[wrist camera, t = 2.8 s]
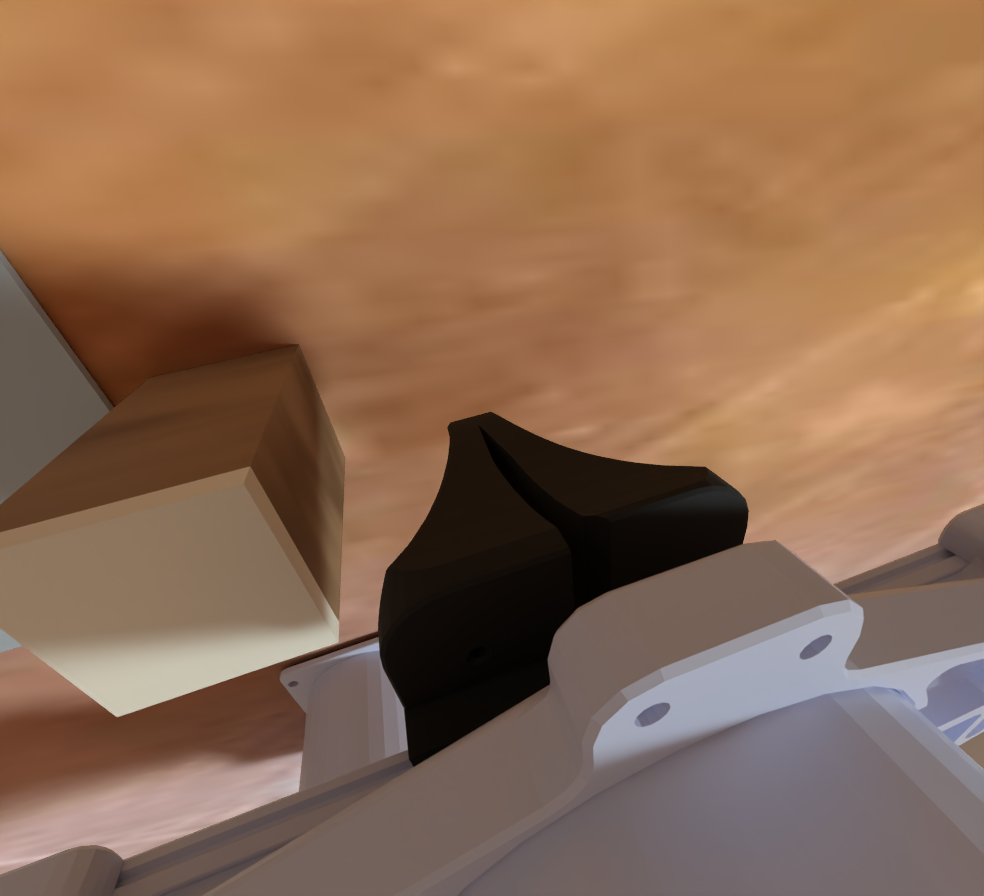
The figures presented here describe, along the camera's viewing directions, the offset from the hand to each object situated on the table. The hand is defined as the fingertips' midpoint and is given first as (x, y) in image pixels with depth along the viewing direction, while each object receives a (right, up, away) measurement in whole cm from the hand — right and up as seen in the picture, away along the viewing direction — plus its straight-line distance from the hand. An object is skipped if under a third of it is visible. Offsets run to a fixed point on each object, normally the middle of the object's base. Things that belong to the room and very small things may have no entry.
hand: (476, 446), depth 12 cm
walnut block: (-9, +1, +4) cm, 9 cm away
